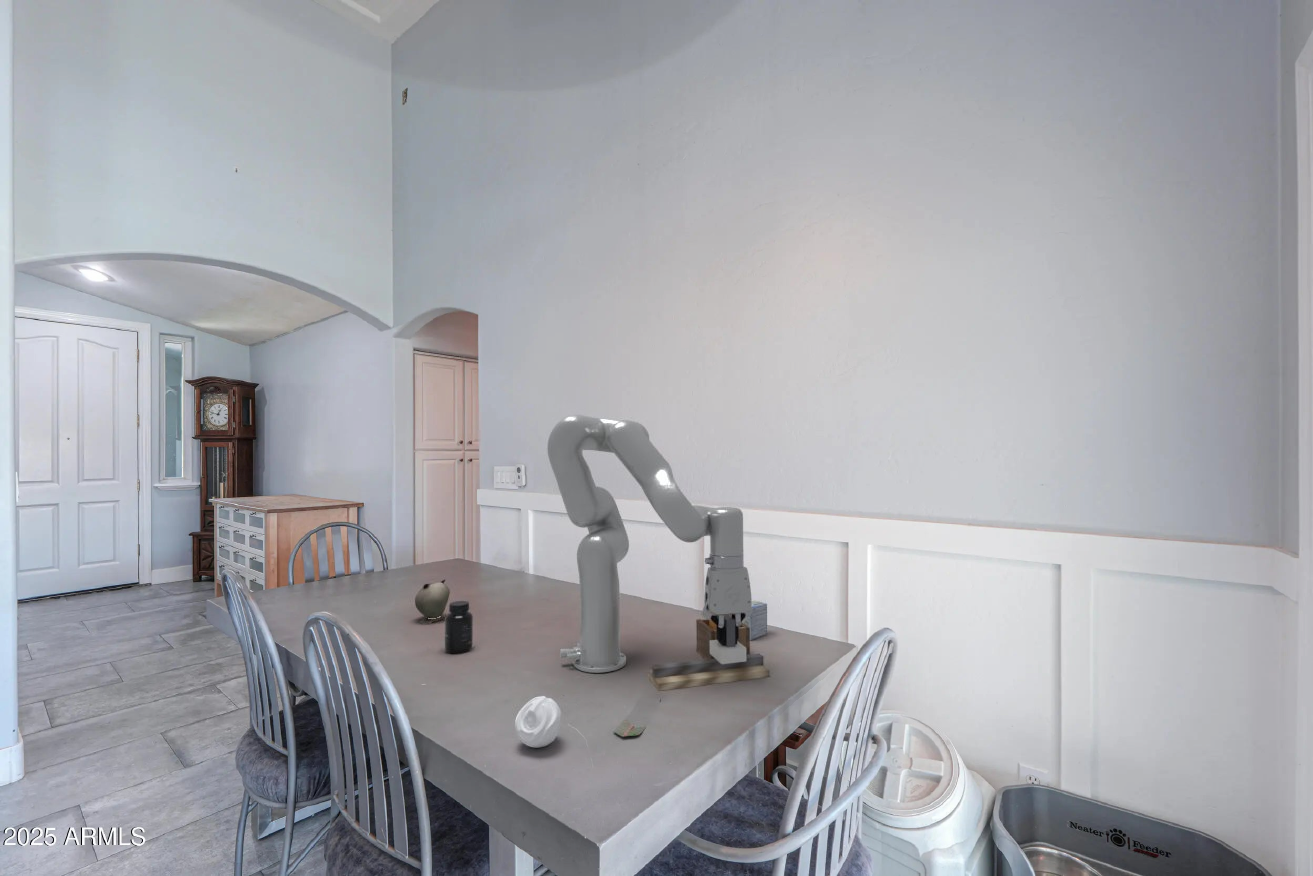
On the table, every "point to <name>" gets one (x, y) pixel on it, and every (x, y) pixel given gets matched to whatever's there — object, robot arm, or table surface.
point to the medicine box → (757, 620)
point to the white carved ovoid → (538, 722)
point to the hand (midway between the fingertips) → (727, 642)
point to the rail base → (706, 672)
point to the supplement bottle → (458, 628)
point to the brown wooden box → (709, 634)
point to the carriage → (728, 645)
